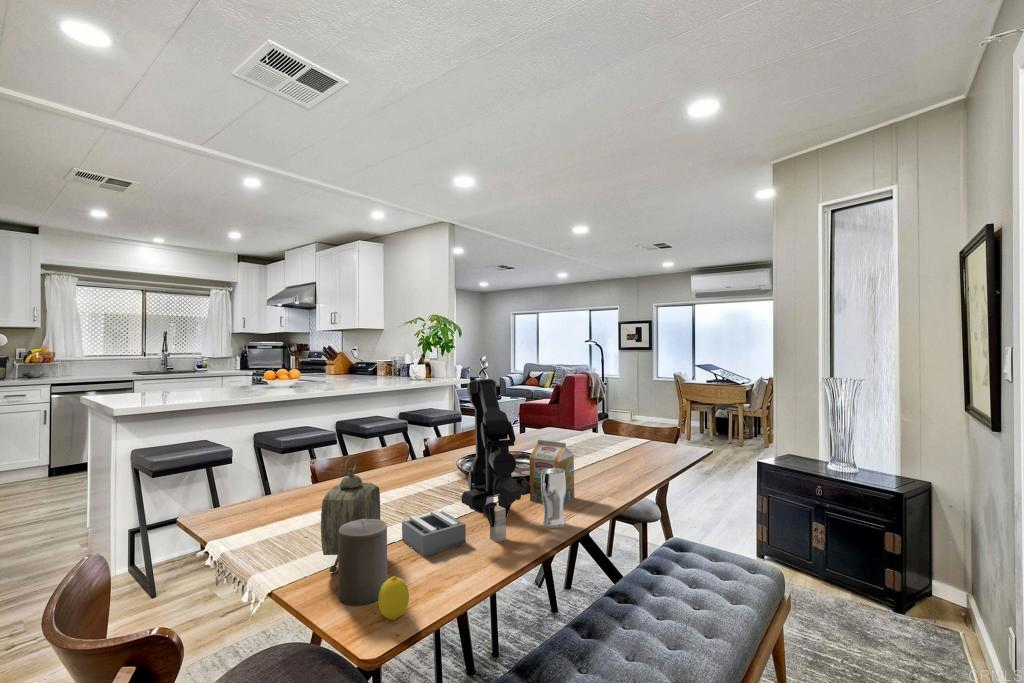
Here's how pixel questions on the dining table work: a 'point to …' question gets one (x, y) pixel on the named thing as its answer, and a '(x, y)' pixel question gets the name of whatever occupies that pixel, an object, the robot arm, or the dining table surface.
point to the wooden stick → (499, 525)
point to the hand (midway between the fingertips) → (497, 525)
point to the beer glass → (553, 496)
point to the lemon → (393, 598)
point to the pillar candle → (362, 561)
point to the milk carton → (550, 457)
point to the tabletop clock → (346, 508)
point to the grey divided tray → (433, 533)
